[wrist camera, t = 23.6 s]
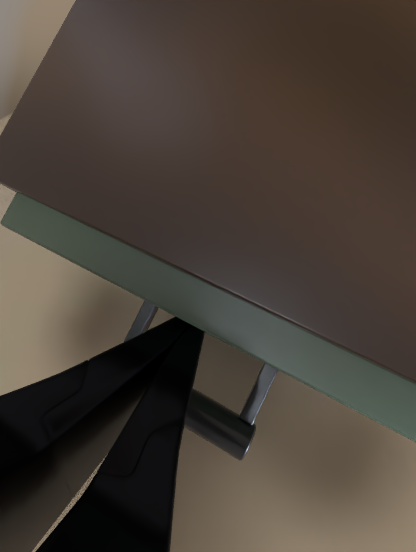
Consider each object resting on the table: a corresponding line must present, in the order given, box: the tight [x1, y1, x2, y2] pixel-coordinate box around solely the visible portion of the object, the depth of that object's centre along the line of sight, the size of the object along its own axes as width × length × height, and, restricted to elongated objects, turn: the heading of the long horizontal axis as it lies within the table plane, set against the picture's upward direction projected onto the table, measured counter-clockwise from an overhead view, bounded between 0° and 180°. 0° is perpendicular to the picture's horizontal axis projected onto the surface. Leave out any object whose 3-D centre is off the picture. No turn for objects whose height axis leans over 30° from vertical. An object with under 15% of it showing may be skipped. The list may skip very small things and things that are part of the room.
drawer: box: [1, 192, 416, 460], centre depth 12 cm, size 17×13×9 cm
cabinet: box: [0, 0, 416, 384], centre depth 13 cm, size 13×14×10 cm
